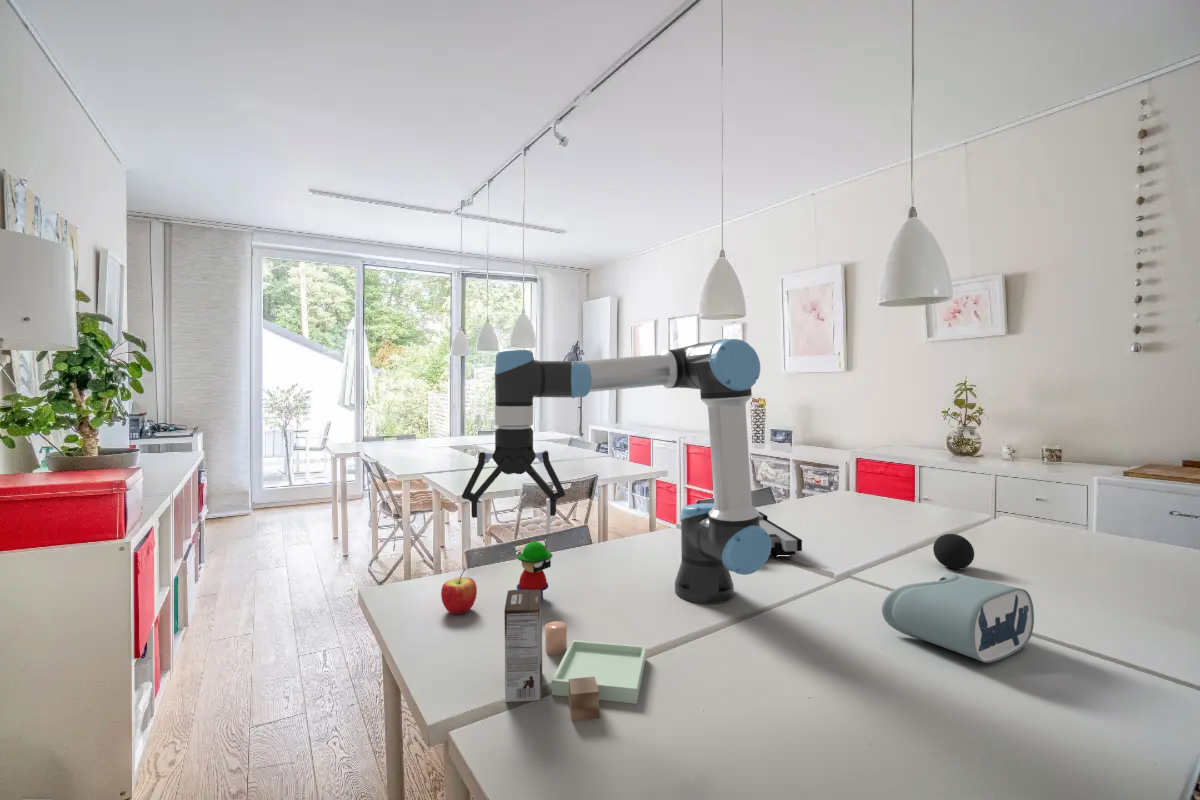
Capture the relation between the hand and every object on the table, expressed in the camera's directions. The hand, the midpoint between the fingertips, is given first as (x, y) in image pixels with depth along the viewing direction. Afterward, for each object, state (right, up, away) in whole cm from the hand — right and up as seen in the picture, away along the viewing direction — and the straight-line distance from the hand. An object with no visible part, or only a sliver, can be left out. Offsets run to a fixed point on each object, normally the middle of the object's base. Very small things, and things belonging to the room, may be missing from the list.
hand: (514, 532), depth 106 cm
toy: (+1, -24, +27) cm, 36 cm away
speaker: (+121, -23, +49) cm, 132 cm away
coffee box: (+4, -25, -11) cm, 28 cm away
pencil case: (+92, -24, +6) cm, 96 cm away
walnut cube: (+15, -25, -18) cm, 34 cm away
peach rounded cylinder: (+8, -25, +2) cm, 26 cm away
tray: (+18, -25, -8) cm, 31 cm away
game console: (+67, -23, +70) cm, 100 cm away
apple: (-17, -25, +21) cm, 36 cm away
